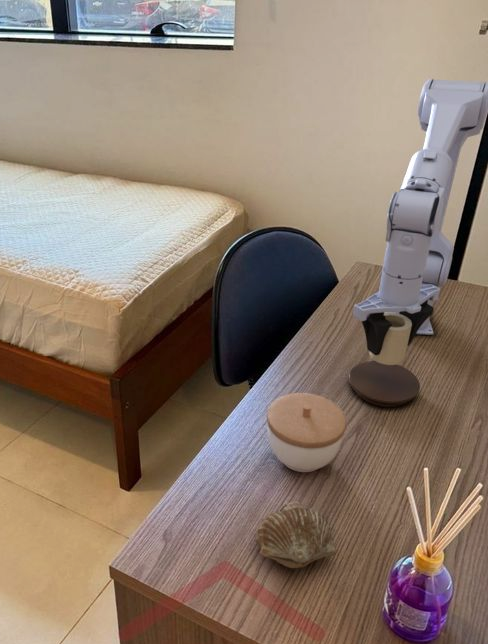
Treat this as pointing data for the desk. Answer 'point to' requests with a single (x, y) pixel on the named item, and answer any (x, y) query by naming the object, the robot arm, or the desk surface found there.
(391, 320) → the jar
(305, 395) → the trinket box
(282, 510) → the seashell
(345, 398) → the desk surface
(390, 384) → the stand
